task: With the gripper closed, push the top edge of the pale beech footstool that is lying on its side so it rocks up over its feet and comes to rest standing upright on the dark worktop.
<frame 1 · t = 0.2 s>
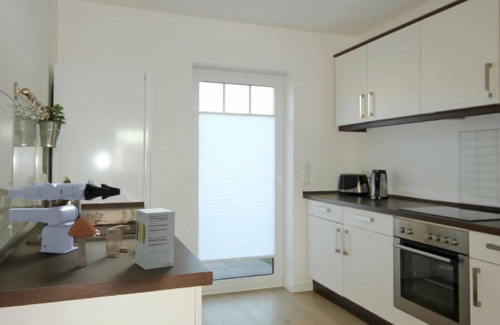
hand: (114, 191, 129), 21 cm above the counter, tool horizontal, fingers open, 7 cm apart
footstool: (118, 253, 130), on the counter
mushroom: (81, 267, 113), on the counter
supplement box: (154, 264, 117), on the counter
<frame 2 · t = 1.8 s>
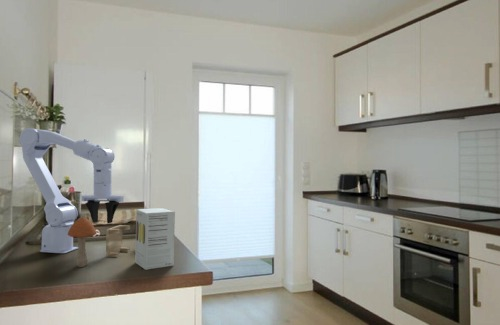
hand: (102, 222, 130), 10 cm above the counter, tool pointing down, fingers open, 5 cm apart
nothing on the counter moved.
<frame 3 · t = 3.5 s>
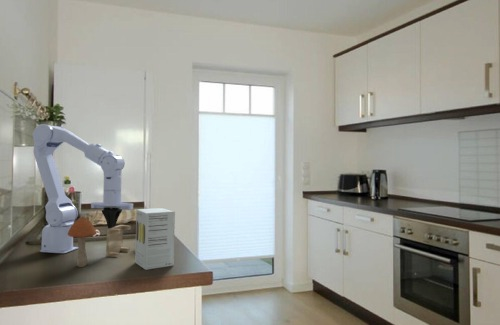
hand: (111, 229, 130), 8 cm above the counter, tool pointing down, fingers closed
footstool: (118, 253, 130), on the counter, touching gripper
everything else where it was.
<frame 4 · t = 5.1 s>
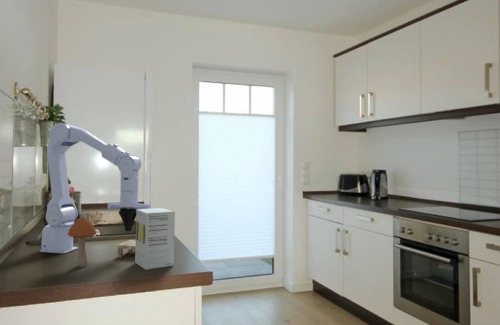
hand: (128, 230, 129), 8 cm above the counter, tool pointing down, fingers closed
footstool: (123, 248, 129), point 2 cm above the counter, tilted 90°
everything else where it was.
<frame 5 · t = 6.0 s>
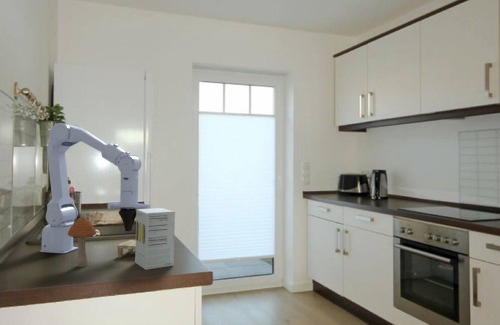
hand: (128, 230, 129), 8 cm above the counter, tool pointing down, fingers closed
nothing on the counter moved.
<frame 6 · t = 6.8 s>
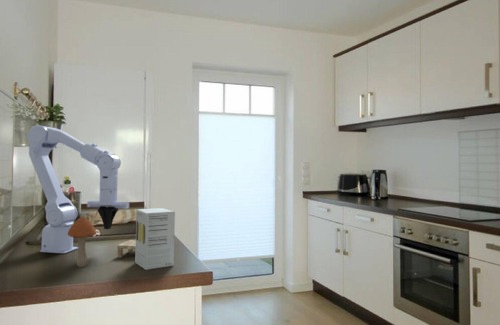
hand: (107, 228, 131), 8 cm above the counter, tool pointing down, fingers closed
nothing on the counter moved.
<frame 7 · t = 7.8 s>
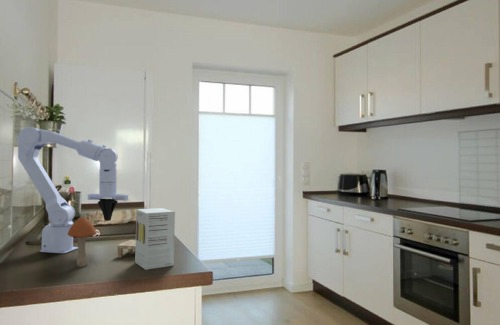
hand: (107, 220, 135), 10 cm above the counter, tool pointing down, fingers closed
nothing on the counter moved.
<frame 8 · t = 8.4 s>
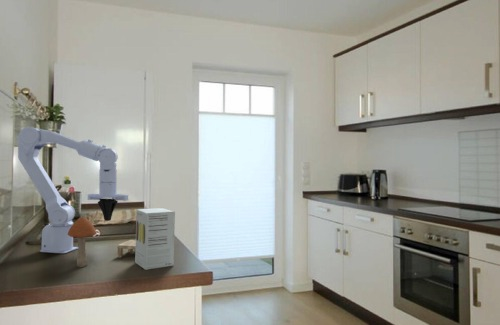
hand: (107, 220, 135), 10 cm above the counter, tool pointing down, fingers closed
nothing on the counter moved.
at the end: footstool tilted 90°; footstool inside the target area (1.2 cm from its centre), point 2.0 cm above the counter; footstool touching counter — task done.
